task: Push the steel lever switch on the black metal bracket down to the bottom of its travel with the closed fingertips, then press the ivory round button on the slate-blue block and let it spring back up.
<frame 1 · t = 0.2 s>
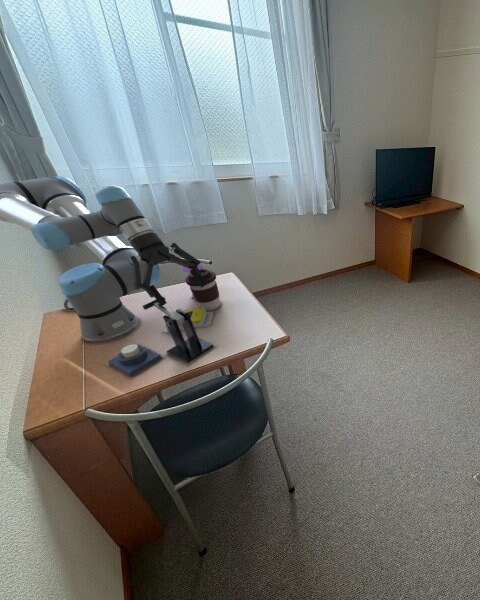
hand: (185, 295, 104), 16 cm above the table, tool tilted 35°, fingers open, 13 cm apart
button block: (136, 362, 99), on the table
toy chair: (204, 292, 135), on the table
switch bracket: (191, 351, 104), on the table
yellow grey flat box: (189, 323, 117), on the table
coffee cup: (210, 306, 126), on the table
button: (130, 351, 96), point 5 cm above the table, slide at 0.1 cm
lever: (166, 311, 98), point 14 cm above the table, hinge at 17.5°
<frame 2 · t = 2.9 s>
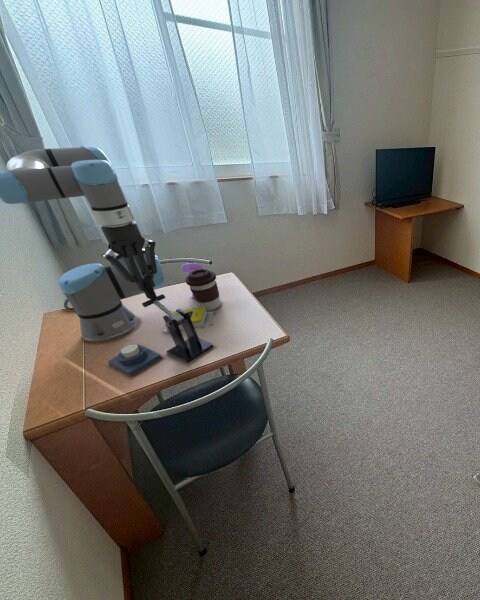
hand: (152, 297, 98), 18 cm above the table, tool pointing down, fingers closed
lever: (166, 310, 97), point 15 cm above the table, hinge at 23.5°, touching gripper
everything else where it was.
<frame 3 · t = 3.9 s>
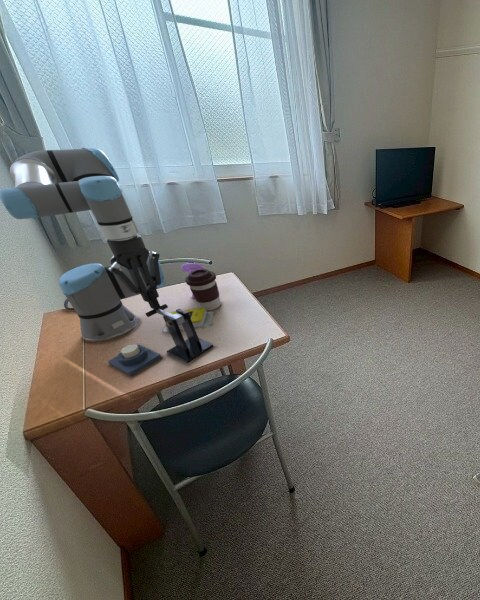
hand: (156, 307, 100), 14 cm above the table, tool pointing down, fingers closed
lever: (167, 314, 98), point 13 cm above the table, hinge at 0.6°, touching gripper
everything else where it was.
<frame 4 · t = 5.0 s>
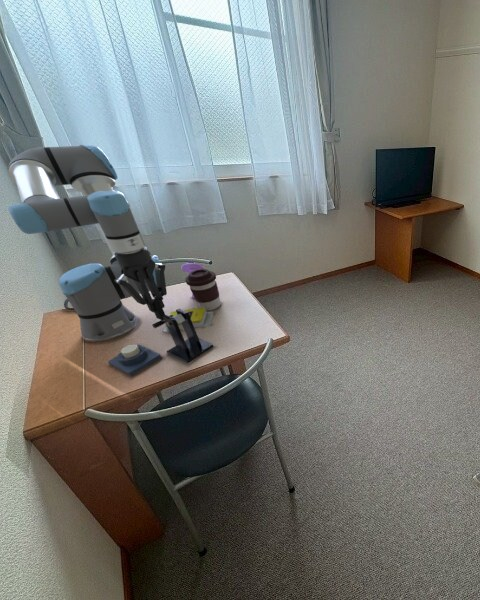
hand: (161, 317, 101), 10 cm above the table, tool pointing down, fingers closed
lever: (170, 320, 99), point 11 cm above the table, hinge at -23.6°, touching gripper
everything else where it was.
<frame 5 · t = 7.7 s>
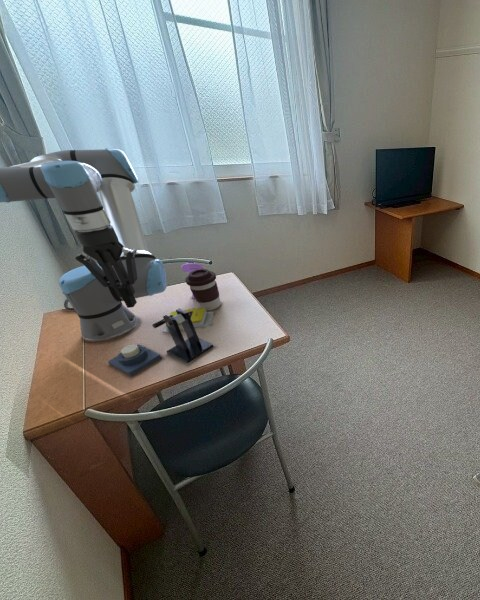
hand: (132, 304, 93), 18 cm above the table, tool pointing down, fingers closed
lever: (170, 320, 99), point 11 cm above the table, hinge at -23.6°
everything else where it was.
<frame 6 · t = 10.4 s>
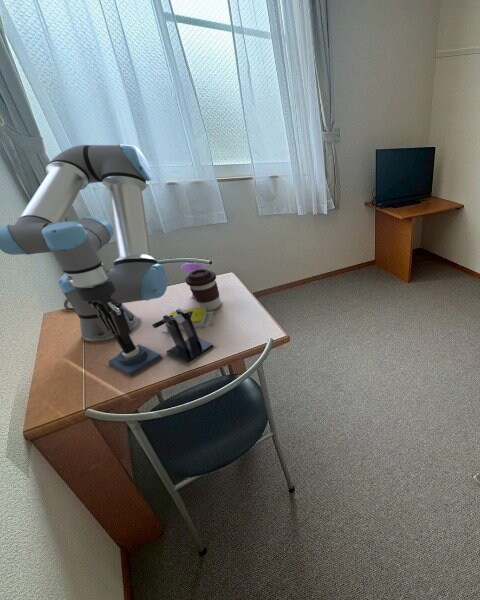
hand: (129, 350, 96), 5 cm above the table, tool pointing down, fingers closed
button: (131, 353, 97), point 4 cm above the table, slide at -0.8 cm, touching gripper
everything else where it was.
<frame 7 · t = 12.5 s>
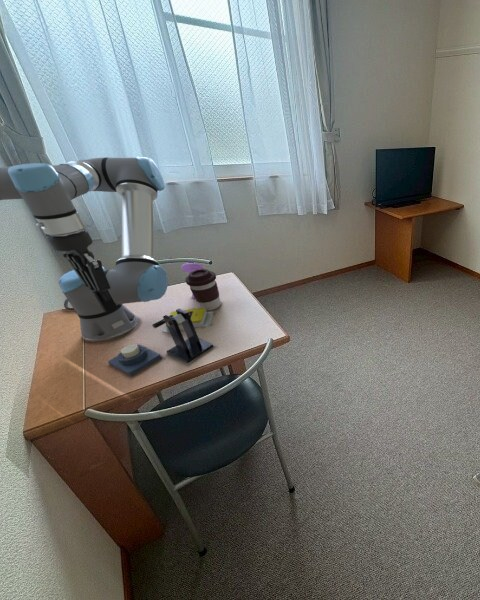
hand: (110, 309, 92), 18 cm above the table, tool pointing down, fingers closed
button: (130, 351, 96), point 5 cm above the table, slide at 0.1 cm
everything else where it was.
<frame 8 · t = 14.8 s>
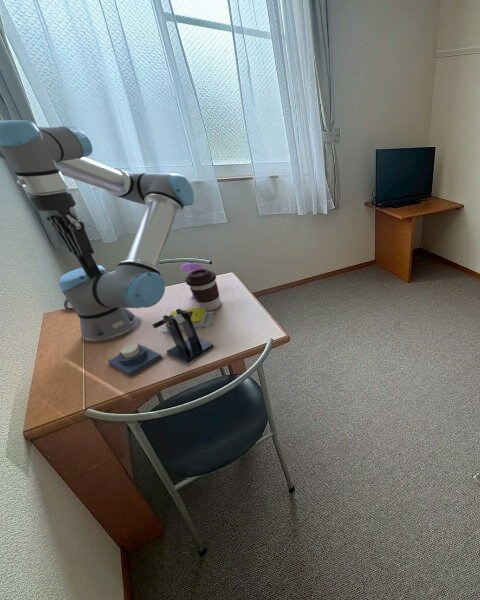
hand: (94, 275, 91), 26 cm above the table, tool pointing down, fingers closed
nothing on the table moved.
at the end: lever at -24° (first picture: +18°); button pushed in 1.2 cm at the most during the clip, back to where it started at the end; button slide at 0.1 cm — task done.
